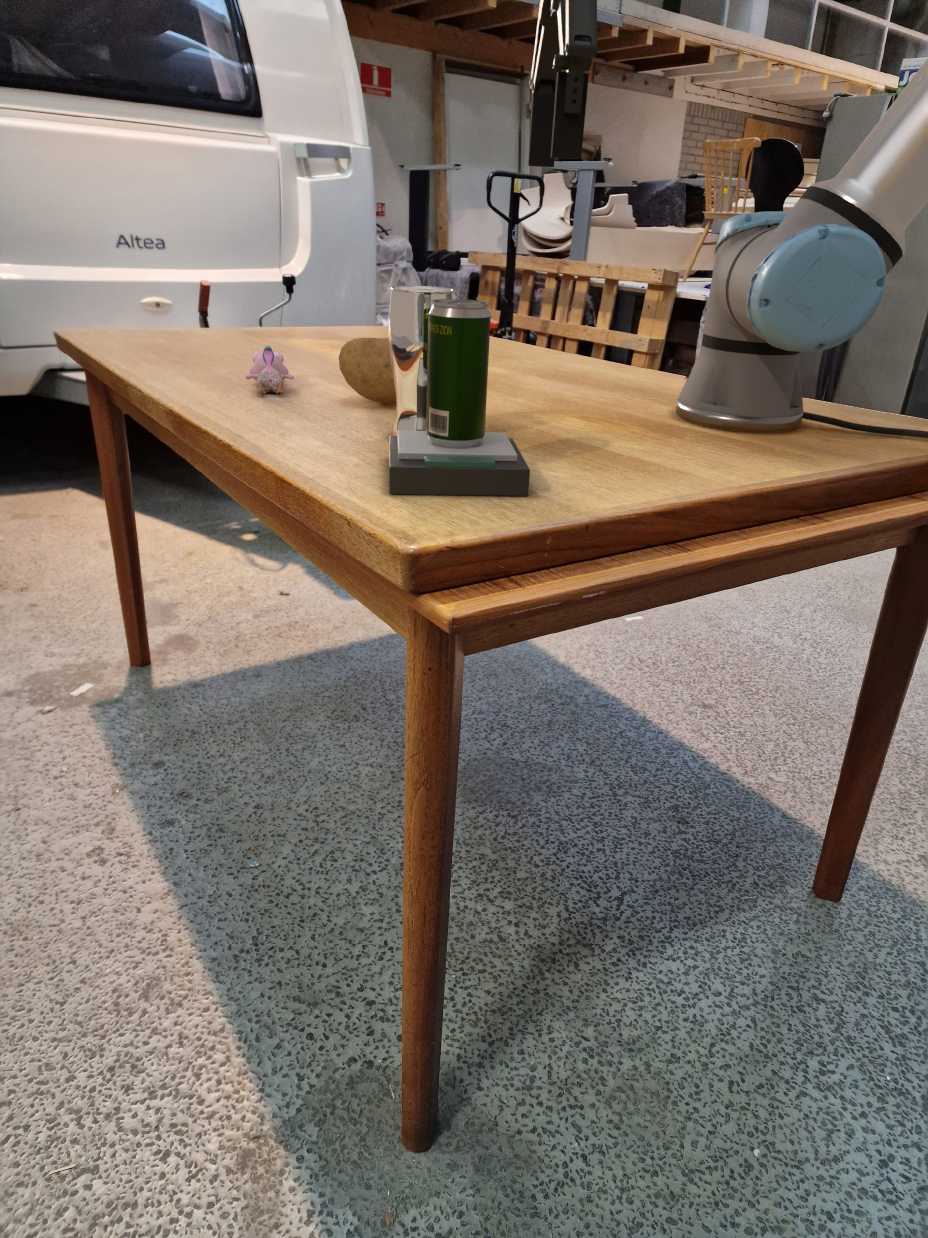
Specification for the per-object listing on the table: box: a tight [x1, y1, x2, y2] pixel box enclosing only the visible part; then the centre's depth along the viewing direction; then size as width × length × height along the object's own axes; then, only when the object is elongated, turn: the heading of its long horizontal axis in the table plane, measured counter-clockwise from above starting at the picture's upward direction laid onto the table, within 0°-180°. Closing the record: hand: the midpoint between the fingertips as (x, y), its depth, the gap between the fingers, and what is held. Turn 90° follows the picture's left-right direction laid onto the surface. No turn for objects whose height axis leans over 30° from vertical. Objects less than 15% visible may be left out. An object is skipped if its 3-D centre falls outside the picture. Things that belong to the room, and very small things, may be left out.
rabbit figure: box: [244, 344, 295, 397], centre depth 109 cm, size 6×6×15 cm
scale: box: [388, 430, 531, 497], centre depth 75 cm, size 12×11×3 cm
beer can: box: [426, 298, 492, 448], centre depth 72 cm, size 5×5×12 cm
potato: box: [338, 337, 396, 406], centre depth 102 cm, size 10×14×8 cm
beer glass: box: [387, 285, 457, 436], centre depth 85 cm, size 7×7×15 cm
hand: (552, 162), depth 81 cm, fingers open, 13 cm apart
